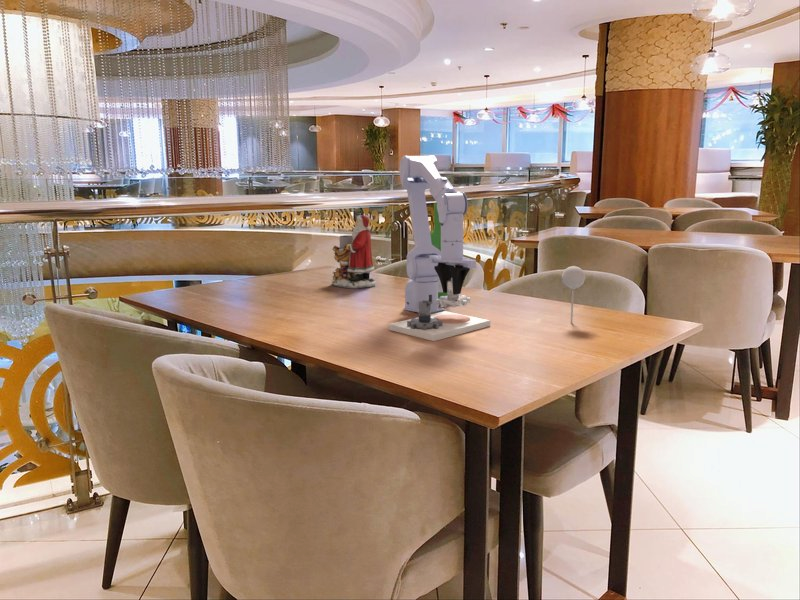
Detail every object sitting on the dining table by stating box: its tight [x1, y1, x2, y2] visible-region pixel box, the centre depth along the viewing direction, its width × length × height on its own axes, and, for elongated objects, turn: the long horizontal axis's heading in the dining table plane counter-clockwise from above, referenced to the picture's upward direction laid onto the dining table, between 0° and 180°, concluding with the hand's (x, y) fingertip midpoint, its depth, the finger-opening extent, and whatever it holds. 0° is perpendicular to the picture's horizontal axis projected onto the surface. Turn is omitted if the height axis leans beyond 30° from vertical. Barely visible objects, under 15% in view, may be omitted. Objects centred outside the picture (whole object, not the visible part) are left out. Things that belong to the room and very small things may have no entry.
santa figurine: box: [331, 214, 377, 290], centre depth 226 cm, size 17×14×25 cm
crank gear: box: [407, 294, 442, 330], centre depth 162 cm, size 9×9×8 cm
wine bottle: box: [430, 202, 452, 299], centre depth 197 cm, size 8×8×30 cm
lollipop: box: [560, 265, 587, 324], centre depth 169 cm, size 6×6×15 cm
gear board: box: [388, 310, 491, 342], centre depth 166 cm, size 16×21×2 cm
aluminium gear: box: [436, 279, 471, 308], centre depth 168 cm, size 9×9×6 cm
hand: (451, 293), depth 168 cm, fingers closed on aluminium gear, 3 cm apart
